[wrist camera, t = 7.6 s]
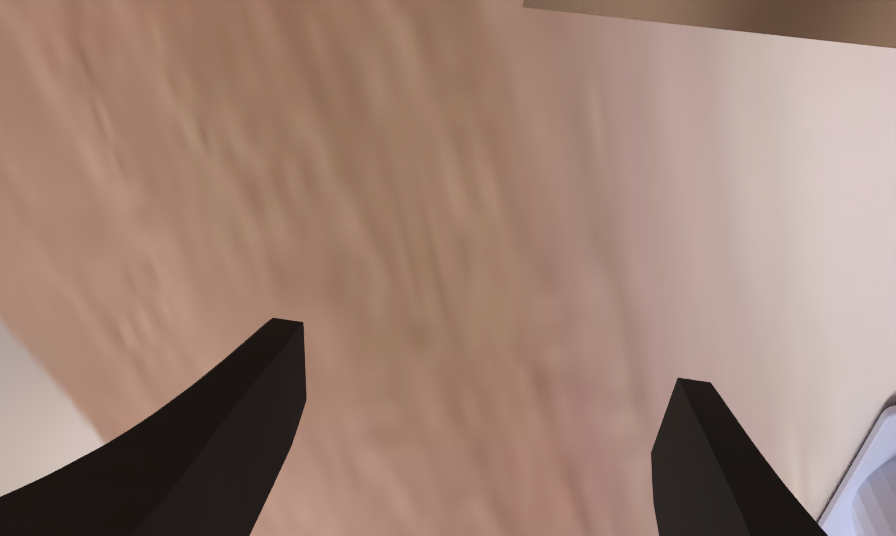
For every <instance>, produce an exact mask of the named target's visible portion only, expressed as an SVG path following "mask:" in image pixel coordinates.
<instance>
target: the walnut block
mask: <svg viewBox="0 0 896 536" xmlns="http://www.w3.org/2000/svg"><path fill="white" fill-rule="evenodd" d="M523 7H526V8H535V9H544V10H553V11H562V12H571V13H580V14H589V15H599V16H608V17H617V18H626V19H635V20H644V21H653V22H662V23H671V24H680V25H689V26H698V27H707V28H716V29H725V30H734V31H744V32H753V33H762V34H771V35H780V36H789V37H798V38H807V39H816V40H825V41H834V42H843V43H852V44H861V45H870V46H880V47H889V48H896V0H524V2H523Z"/></svg>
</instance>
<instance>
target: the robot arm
mask: <svg viewBox="0 0 896 536" xmlns="http://www.w3.org/2000/svg"><path fill="white" fill-rule="evenodd" d="M305 402H306V376H305V351H304V326H303V322H298V321H291V320H284V319H277V318H272V319H271V320H269V321H268V322H267V323H266V324H264V325H263V326H262V327H261V328H260V329H259V330H257V331H256V332H255V333H254V334H253V335H252V336H251V337H249V338H248V339H247V340H246V341H245V342H244V343H243V344H241V345H240V346H239V347H238V348H237V349H236V350H234V351H233V352H232V353H231V354H230V355H229V356H227V357H226V358H225V359H224V360H223V361H222V362H220V363H219V364H218V365H217V366H215V367H214V368H213V369H212V370H210V371H209V372H208V373H207V374H206V375H204V376H203V377H202V378H201V379H199V380H198V381H197V382H196V383H194V384H193V385H192V386H191V387H189V388H188V389H187V390H185V391H184V392H183V393H181V394H180V395H178V396H177V397H176V398H174V399H173V400H172V401H170V402H169V403H168V404H166V405H165V406H164V407H162V408H161V409H159V410H158V411H157V412H155V413H154V414H152V415H151V416H149V417H148V418H146V419H145V420H143V421H142V422H141V423H139V424H137V425H136V426H134V427H133V428H131V429H130V430H128V431H127V432H125V433H123V434H122V435H120V436H119V437H117V438H115V439H114V440H112V441H110V442H109V443H107V444H105V445H104V446H102V447H100V448H98V449H96V450H95V451H93V452H91V453H89V454H87V455H85V456H83V457H81V458H79V459H78V460H76V461H74V462H72V463H70V464H68V465H66V466H64V467H63V468H61V469H59V470H57V471H55V472H53V473H51V474H49V475H47V476H45V477H43V478H41V479H39V480H36V481H34V482H32V483H30V484H28V485H26V486H24V487H22V488H19V489H17V490H15V491H12V492H10V493H8V494H6V495H3V496H1V497H0V536H249V535H250V533H251V531H252V529H253V527H254V525H255V523H256V521H257V519H258V516H259V514H260V512H261V510H262V508H263V506H264V504H265V502H266V499H267V497H268V495H269V493H270V491H271V489H272V487H273V485H274V482H275V480H276V478H277V476H278V474H279V472H280V470H281V467H282V465H283V463H284V461H285V459H286V457H287V454H288V452H289V450H290V448H291V446H292V443H293V440H294V437H295V434H296V431H297V428H298V425H299V422H300V418H301V415H302V412H303V409H304V406H305ZM651 461H652V484H653V500H654V508H655V514H656V520H657V525H658V531H659V536H896V405H894V406H891V407H889V408H887V409H885V410H884V412H883V413H882V414H881V416H880V417H879V419H878V421H877V423H876V424H875V426H874V428H873V429H872V431H871V433H870V435H869V436H868V438H867V440H866V441H865V443H864V445H863V447H862V448H861V450H860V452H859V453H858V455H857V457H856V459H855V460H854V462H853V464H852V465H851V467H850V469H849V471H848V472H847V474H846V476H845V478H844V479H843V481H842V483H841V484H840V486H839V488H838V490H837V491H836V493H835V495H834V496H833V498H832V500H831V502H830V503H829V505H828V507H827V508H826V510H825V512H824V514H823V515H822V517H821V519H820V520H819V522H818V524H817V522H816V521H815V520H814V519H813V518H812V517H811V516H810V514H809V513H808V512H807V511H806V510H805V508H804V507H803V506H802V505H801V504H800V502H799V501H798V500H797V499H796V498H795V497H794V495H793V494H792V493H791V492H790V491H789V489H788V488H787V487H786V486H785V484H784V483H783V482H782V481H781V479H780V478H779V477H778V475H777V474H776V473H775V471H774V470H773V469H772V467H771V466H770V465H769V463H768V462H767V461H766V460H765V458H764V457H763V456H762V454H761V453H760V452H759V450H758V449H757V447H756V446H755V445H754V443H753V442H752V441H751V439H750V438H749V436H748V435H747V433H746V432H745V431H744V429H743V428H742V426H741V425H740V424H739V422H738V421H737V419H736V418H735V416H734V415H733V414H732V412H731V411H730V409H729V408H728V406H727V405H726V403H725V402H724V401H723V399H722V398H721V396H720V395H719V394H718V392H717V391H716V389H715V388H714V386H713V385H712V384H711V383H710V382H704V381H697V380H690V379H683V378H677V381H676V384H675V387H674V390H673V393H672V395H671V398H670V401H669V404H668V407H667V409H666V412H665V415H664V418H663V421H662V424H661V426H660V429H659V432H658V435H657V438H656V441H655V443H654V446H653V449H652V452H651Z"/></svg>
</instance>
